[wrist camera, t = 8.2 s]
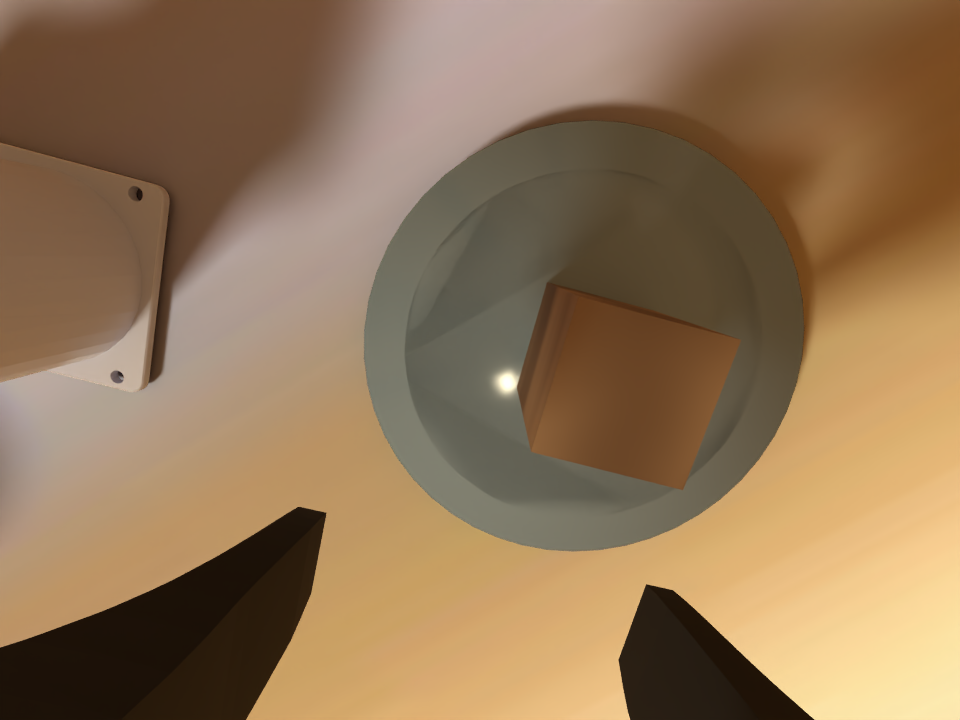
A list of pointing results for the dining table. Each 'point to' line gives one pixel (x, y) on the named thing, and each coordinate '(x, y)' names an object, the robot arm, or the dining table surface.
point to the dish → (589, 268)
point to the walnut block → (620, 385)
